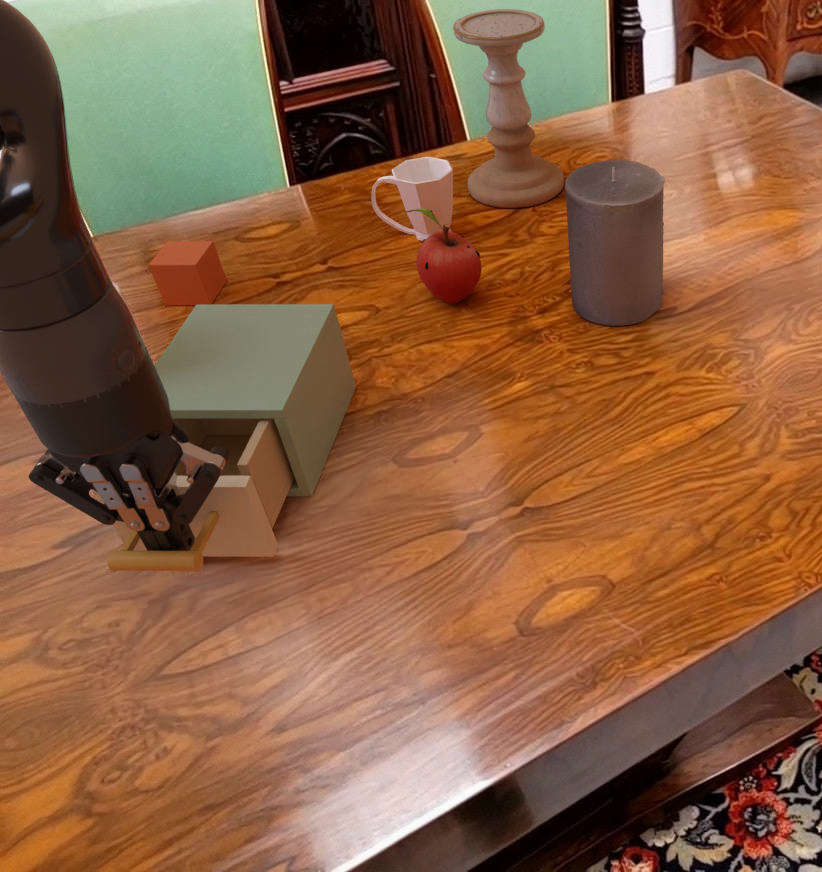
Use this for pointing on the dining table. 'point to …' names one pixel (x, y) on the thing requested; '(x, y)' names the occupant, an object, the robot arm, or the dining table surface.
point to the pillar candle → (615, 241)
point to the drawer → (223, 499)
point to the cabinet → (264, 375)
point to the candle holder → (508, 113)
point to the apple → (448, 264)
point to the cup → (421, 194)
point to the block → (188, 272)
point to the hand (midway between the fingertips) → (176, 555)
